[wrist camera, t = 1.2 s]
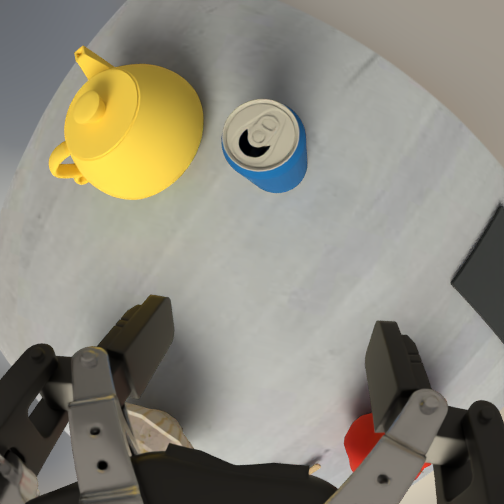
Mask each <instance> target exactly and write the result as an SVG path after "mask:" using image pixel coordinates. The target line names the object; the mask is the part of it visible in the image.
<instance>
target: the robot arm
mask: <svg viewBox="0 0 504 504" xmlns="http://www.w3.org/2000/svg"><path fill="white" fill-rule="evenodd" d="M173 337H174V323H173V315H172V307H171V301H170V298H169V297H163V296H157V295H150V296H149V297H148V298H147V299H146V300H145V301H144V303H143V304H142V305H136V306H134V307H133V308H131V309H129V310H128V311H127V312H126V313H125V314H124V315H123V316H122V318H121V320H119V321H118V322H117V323H116V326H114V327H113V328H112V329H111V330H110V331H109V333H108V334H107V335H106V336H105V337H104V339H103V340H102V341H101V342H100V343H99V344H98V346H97V347H95V346H90V347H85V348H82V349H80V350H79V351H77V352H76V353H75V354H74V355H73V357H64V356H56V355H55V352H54V350H53V348H52V347H51V346H50V345H48V344H36V345H33V346H31V347H30V348H28V349H27V350H26V351H25V352H24V353H23V354H22V355H21V356H20V358H19V359H18V360H17V361H16V362H15V363H14V364H13V366H12V367H11V368H10V369H9V370H8V371H7V372H6V374H5V375H4V376H3V377H2V378H1V380H0V504H399V503H400V501H401V500H402V498H403V497H404V495H405V494H406V492H407V491H408V489H409V488H410V486H411V485H412V483H413V481H414V480H415V478H416V477H417V475H418V473H419V472H420V470H421V468H422V467H423V465H424V463H431V464H433V468H434V477H435V486H436V496H437V504H504V422H503V420H502V417H501V414H500V412H499V410H498V409H497V407H496V406H495V405H493V404H492V403H490V402H488V401H484V400H480V401H476V402H474V403H473V404H472V405H471V406H470V408H469V409H468V410H465V409H460V408H455V407H451V406H448V404H447V401H446V399H445V398H444V397H443V396H442V395H441V394H440V393H438V392H437V391H434V390H432V388H431V386H430V383H429V380H428V377H427V374H426V371H425V369H424V366H423V363H421V361H422V360H421V358H420V355H419V352H418V350H417V347H416V345H415V343H414V342H413V341H412V340H411V339H410V338H409V337H408V335H401V333H400V330H399V327H398V324H397V322H395V321H377V322H376V323H375V326H374V329H373V333H372V336H371V339H370V342H369V345H368V348H367V352H366V357H365V368H366V374H367V381H368V387H369V393H370V400H371V407H372V415H373V423H374V431H375V433H385V434H384V435H383V436H382V437H381V439H380V440H379V441H378V443H377V444H376V445H375V447H374V448H373V449H372V450H371V452H370V453H369V454H368V455H367V457H366V458H365V459H364V460H363V461H362V463H361V464H360V465H359V466H358V467H357V469H356V470H355V471H354V472H353V473H352V474H351V476H350V477H349V478H348V479H347V480H346V481H345V482H344V483H343V484H342V486H341V487H340V488H339V489H337V488H336V487H335V486H333V485H332V484H330V483H329V482H327V481H325V480H323V479H321V478H318V477H316V476H312V475H309V466H306V465H292V464H281V463H266V464H253V465H233V464H231V463H228V462H226V461H223V460H221V459H219V458H216V457H214V456H212V455H210V454H208V453H205V452H203V451H200V450H196V449H192V448H188V447H184V446H180V445H176V444H172V443H169V444H168V446H167V449H166V451H152V452H145V453H141V451H140V449H139V447H138V444H137V441H136V438H135V435H134V431H133V428H132V425H131V421H130V418H129V414H128V410H127V407H126V404H125V401H126V400H127V398H128V396H129V397H132V398H135V399H138V400H139V399H140V397H141V395H142V393H143V392H144V390H145V388H146V386H147V385H148V383H149V381H150V379H151V378H152V376H153V374H154V372H155V371H156V369H157V367H158V366H159V364H160V362H161V360H162V359H163V357H164V355H165V354H166V352H167V350H168V348H169V347H170V345H171V343H172V341H173ZM39 393H40V394H41V396H42V399H41V400H40V402H39V403H38V404H37V406H36V407H35V409H34V410H33V412H32V413H31V415H30V416H29V417H28V409H29V406H30V405H31V403H32V402H33V401H34V399H35V398H36V396H37V395H38V394H39ZM68 422H69V428H70V436H71V444H72V451H73V458H74V464H75V470H76V474H77V480H78V481H77V482H75V483H72V484H70V485H67V486H65V487H62V488H60V489H57V490H55V491H52V492H49V493H46V494H43V495H41V496H40V492H39V490H38V480H37V475H38V473H39V472H40V470H41V468H42V466H43V464H44V463H45V461H46V459H47V457H48V456H49V454H50V452H51V450H52V449H53V447H54V445H55V444H56V442H57V440H58V438H59V437H60V435H61V433H62V432H63V430H64V428H65V427H66V425H67V423H68Z"/></svg>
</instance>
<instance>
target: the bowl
mask: <svg viewBox="0 0 504 504" xmlns="http://www.w3.org/2000/svg"><path fill="white" fill-rule="evenodd" d="M125 404H126V407H127V410H128V414H129V418H130V421H131V425H132V428H133V431H134V435H135V438H136V441H137V444H138V447H139V449H140V451H141V453H145V452H152V451H166V449H167V446H168V444H169V443H172V444H176V445H180V446H184V447H188V448H192V449H194V448H193V447H192V445H191V444H190V442H189V441H188V439H187V438H186V436H185V435H184V433H183V429H182V427H181V426H180V425H179V423H178V422H177V420H176V419H175V418H173V417H172V416H171V415H169V414H168V413H166V412H164V411H160V410H157V409H148V408H145V407H141V406H138V405H134V404H131V403H127V402H125Z"/></svg>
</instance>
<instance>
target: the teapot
mask: <svg viewBox="0 0 504 504" xmlns="http://www.w3.org/2000/svg"><path fill="white" fill-rule="evenodd" d="M75 60H76V62H77V63H78V64H79V66H80V67H81V69H82V70H83V72H84V73H85V75H86V77H87V78H88V81H87V82H86V83H85V84H84V85H83V86H82V87H81V89H80V90H79V91H78V92H77V94H76V95H75V97H74V99H73V100H72V102H71V104H70V106H69V109H68V112H67V115H66V120H65V127H64V133H65V140H66V141H64V142H62V143H61V144H60V145H58V146H57V147H56V148H55V149H54V151H53V152H52V153H51V156H50V158H49V168H50V171H51V173H52V174H53V175H54V176H55V177H58V178H74V180H75V182H76V183H78V184H81V185H82V184H86V183H88V182H90V183H91V184H92V185H93V186H94V187H96V188H98V189H99V190H101V191H103V192H104V193H106V194H109V195H111V196H114V197H117V198H122V199H128V200H136V199H143V198H147V197H150V196H152V195H155V194H157V193H159V192H161V191H162V190H164V189H166V188H167V187H169V186H170V185H171V184H172V183H174V182H175V181H176V180H177V179H178V178H179V177H180V176H181V175H182V174H183V173H184V172H185V170H186V169H187V168H188V166H189V165H190V163H191V162H192V160H193V158H194V157H195V155H196V153H197V150H198V148H199V145H200V142H201V138H202V133H203V110H202V106H201V102H200V99H199V97H198V95H197V93H196V91H195V90H194V89H193V87H192V86H191V85H190V84H189V83H188V82H187V81H186V80H185V79H184V78H183V77H181V76H180V75H178V74H176V73H175V72H173V71H170V70H168V69H166V68H163V67H160V66H156V65H150V64H131V65H124V66H119V67H114V66H112V65H111V64H110V63H108V62H107V61H105V60H104V59H102V58H101V57H99V56H98V55H97V54H95V53H94V52H92V51H91V50H89V49H88V48H86V47H85V46H82V47H81V48H79V49H78V50H77V51H76V52H75ZM70 155H71V157H72V159H73V161H74V162H75V164H60V163H61V162H62V161H63V160H64V159H65V158H67V157H68V156H70Z"/></svg>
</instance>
